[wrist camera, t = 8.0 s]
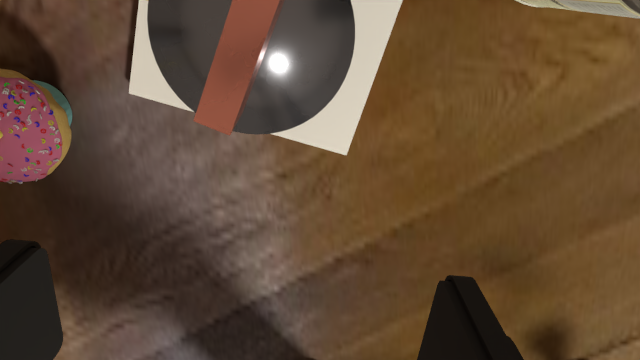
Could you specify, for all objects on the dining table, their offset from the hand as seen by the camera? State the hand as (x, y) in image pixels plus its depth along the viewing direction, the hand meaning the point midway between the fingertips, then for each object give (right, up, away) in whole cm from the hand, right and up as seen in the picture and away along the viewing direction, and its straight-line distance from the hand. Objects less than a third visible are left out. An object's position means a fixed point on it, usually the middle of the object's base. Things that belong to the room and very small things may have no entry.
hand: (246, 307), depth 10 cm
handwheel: (-4, +14, +17) cm, 23 cm away
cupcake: (-21, +9, +24) cm, 33 cm away
